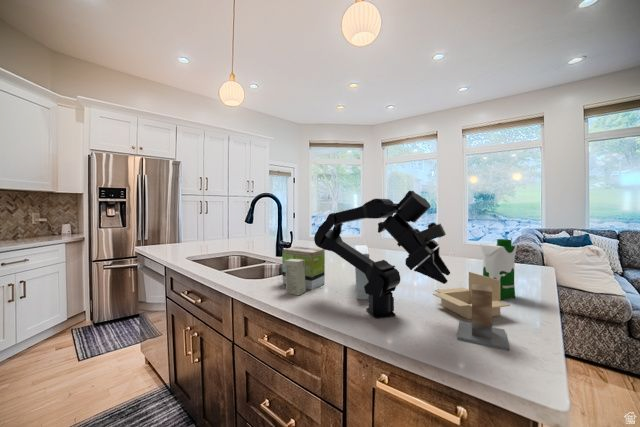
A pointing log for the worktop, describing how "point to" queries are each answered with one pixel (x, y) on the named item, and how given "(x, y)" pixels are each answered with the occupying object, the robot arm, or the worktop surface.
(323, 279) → the tea box
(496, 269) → the milk carton
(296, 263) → the skincare box
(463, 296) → the cardboard carton
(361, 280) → the skincare box
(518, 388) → the worktop surface
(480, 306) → the walnut box
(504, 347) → the slate coaster
